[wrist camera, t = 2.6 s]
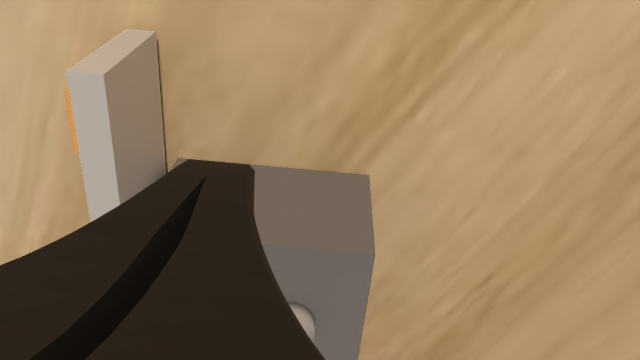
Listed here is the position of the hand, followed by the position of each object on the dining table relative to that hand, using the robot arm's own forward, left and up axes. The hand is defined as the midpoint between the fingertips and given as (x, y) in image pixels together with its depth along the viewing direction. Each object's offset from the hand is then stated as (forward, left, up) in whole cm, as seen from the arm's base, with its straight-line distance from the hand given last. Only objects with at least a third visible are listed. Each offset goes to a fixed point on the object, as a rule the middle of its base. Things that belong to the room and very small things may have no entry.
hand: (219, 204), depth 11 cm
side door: (-5, +3, -5) cm, 8 cm away
